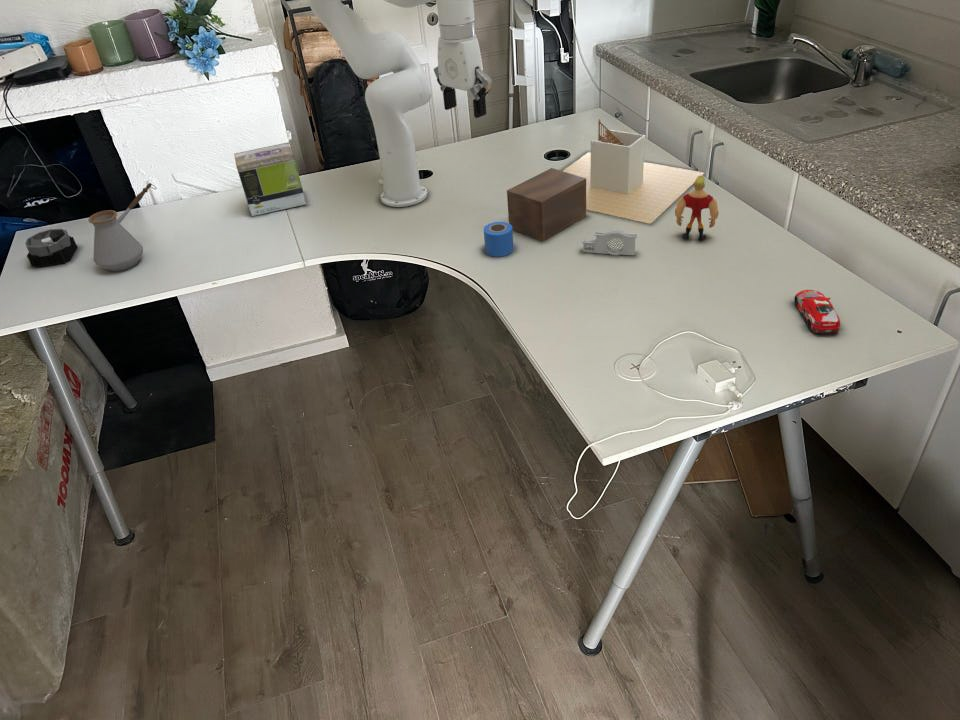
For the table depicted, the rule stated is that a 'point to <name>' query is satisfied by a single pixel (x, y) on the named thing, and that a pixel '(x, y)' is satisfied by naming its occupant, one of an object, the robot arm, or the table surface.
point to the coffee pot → (115, 239)
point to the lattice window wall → (605, 237)
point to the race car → (817, 311)
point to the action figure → (697, 208)
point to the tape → (498, 239)
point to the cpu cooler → (50, 247)
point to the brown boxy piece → (547, 203)
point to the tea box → (270, 178)
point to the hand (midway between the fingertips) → (465, 112)
